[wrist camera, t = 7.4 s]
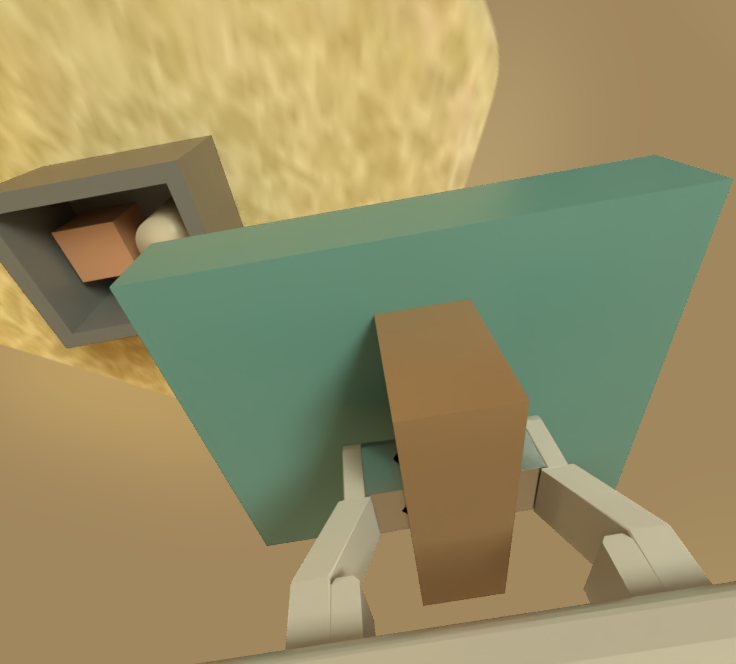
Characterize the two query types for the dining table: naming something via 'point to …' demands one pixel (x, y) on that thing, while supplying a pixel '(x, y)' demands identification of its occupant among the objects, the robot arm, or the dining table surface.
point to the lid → (429, 345)
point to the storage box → (105, 228)
